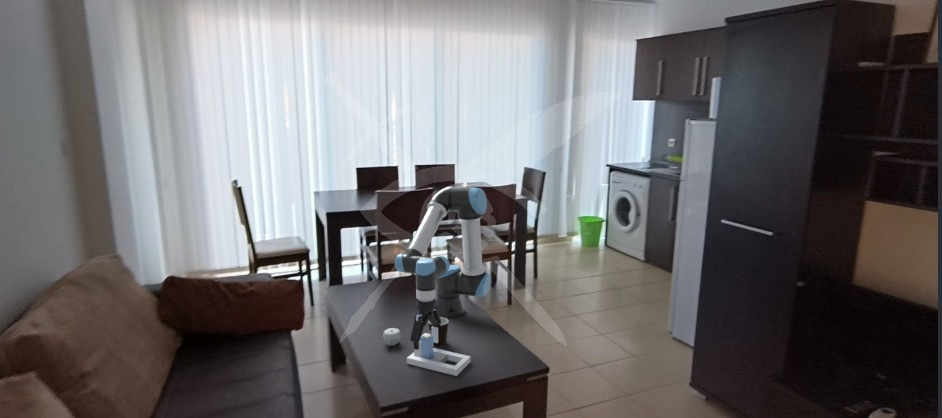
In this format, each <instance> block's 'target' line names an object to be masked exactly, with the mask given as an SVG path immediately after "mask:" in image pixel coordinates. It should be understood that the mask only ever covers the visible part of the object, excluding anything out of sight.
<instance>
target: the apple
mask: <svg viewBox="0 0 942 418" xmlns="http://www.w3.org/2000/svg"><path fill="white" fill-rule="evenodd" d="M382 337H383V340H384V342H385V343H386V345H387V346H389V347H390V346H391V347H393V346H396V345H397V344H399V342H400V340H401V337H402V333H401V331H400V329H399V328H397V327H395V328H394V327H390V328H387V329H385V330H384V331H383V333H382Z"/></svg>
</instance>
